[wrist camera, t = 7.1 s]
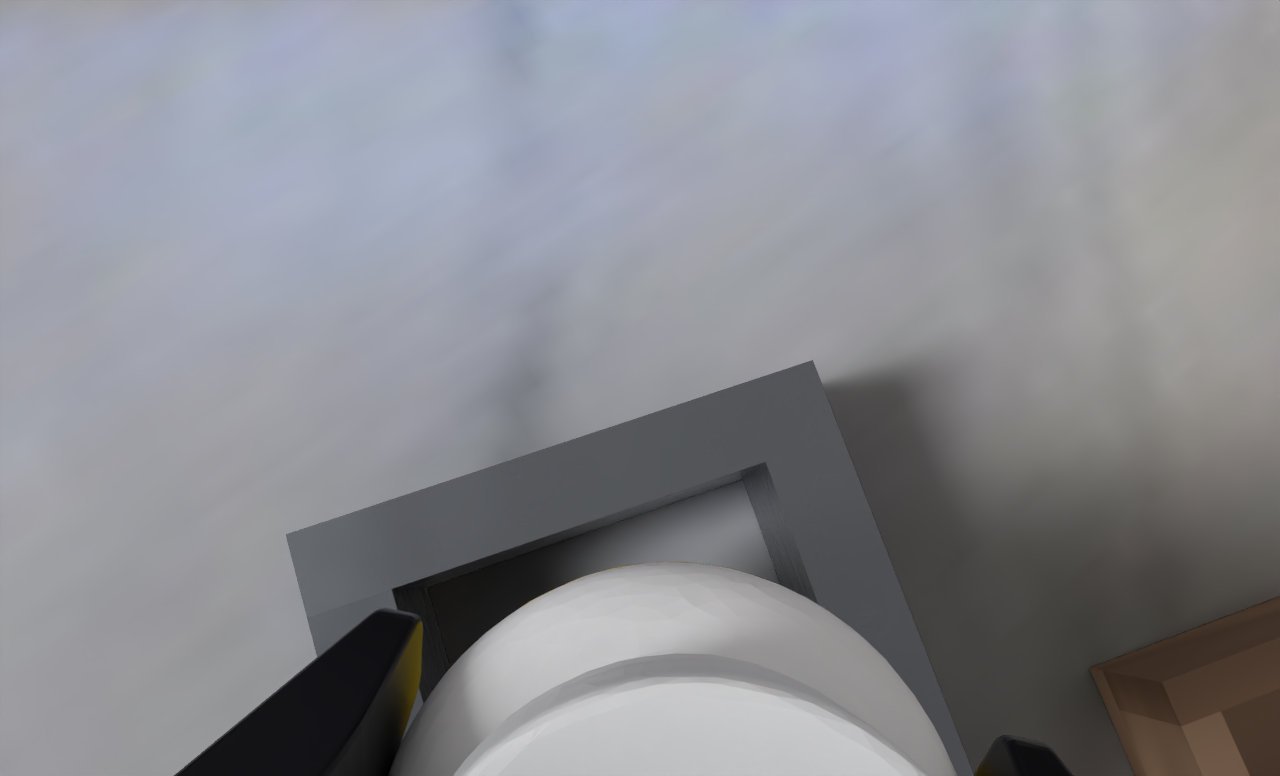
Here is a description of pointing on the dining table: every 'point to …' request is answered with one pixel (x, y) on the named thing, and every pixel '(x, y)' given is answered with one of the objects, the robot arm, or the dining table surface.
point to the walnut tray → (1201, 698)
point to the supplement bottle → (671, 687)
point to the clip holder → (622, 488)
